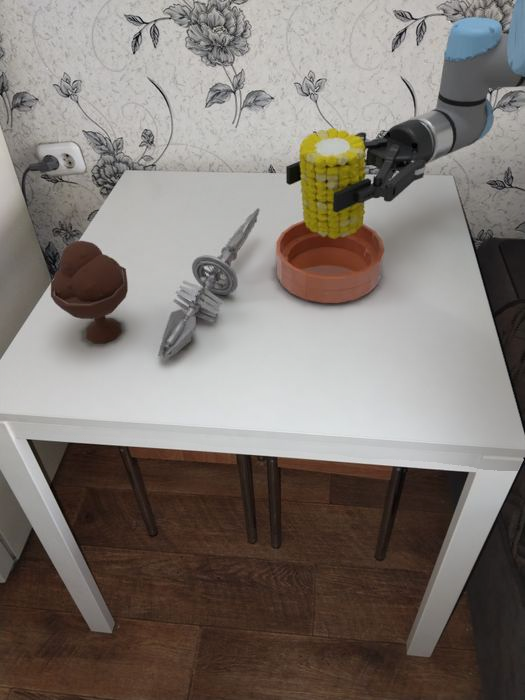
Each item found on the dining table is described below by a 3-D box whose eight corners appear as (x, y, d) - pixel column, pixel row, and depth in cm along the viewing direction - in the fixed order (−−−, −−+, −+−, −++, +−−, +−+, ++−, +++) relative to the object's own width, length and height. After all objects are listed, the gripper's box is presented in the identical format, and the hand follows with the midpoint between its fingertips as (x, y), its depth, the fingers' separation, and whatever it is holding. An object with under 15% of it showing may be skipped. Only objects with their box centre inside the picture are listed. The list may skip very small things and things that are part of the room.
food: (372, 231, 94) (326, 259, 90) (322, 190, 98) (276, 214, 94) (397, 151, 81) (345, 179, 77) (339, 108, 86) (287, 132, 82)
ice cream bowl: (53, 346, 88) (21, 264, 78) (95, 302, 95) (70, 221, 85) (113, 364, 85) (88, 281, 75) (152, 316, 92) (134, 234, 82)
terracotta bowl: (398, 265, 100) (403, 237, 96) (344, 320, 90) (347, 291, 86) (314, 233, 108) (315, 206, 104) (256, 280, 98) (254, 253, 94)
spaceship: (284, 204, 100) (243, 182, 100) (192, 354, 80) (140, 327, 80) (271, 235, 106) (232, 214, 106) (182, 381, 86) (134, 356, 86)
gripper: (468, 190, 91) (363, 244, 81) (365, 142, 104) (264, 183, 94) (478, 143, 85) (368, 195, 76) (368, 99, 98) (262, 138, 89)
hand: (310, 189), depth 85 cm, fingers closed on food, 10 cm apart
